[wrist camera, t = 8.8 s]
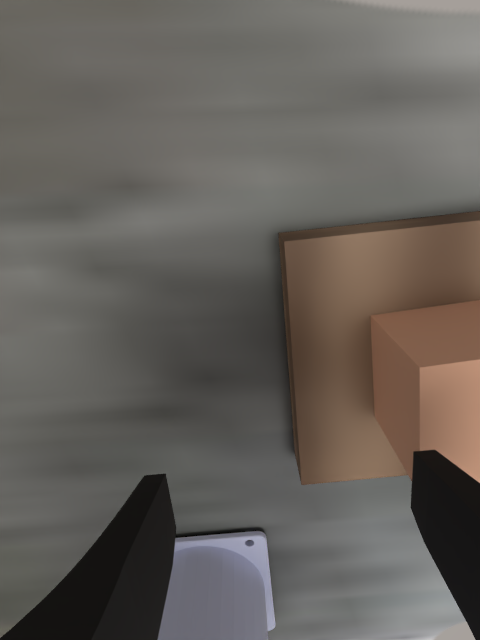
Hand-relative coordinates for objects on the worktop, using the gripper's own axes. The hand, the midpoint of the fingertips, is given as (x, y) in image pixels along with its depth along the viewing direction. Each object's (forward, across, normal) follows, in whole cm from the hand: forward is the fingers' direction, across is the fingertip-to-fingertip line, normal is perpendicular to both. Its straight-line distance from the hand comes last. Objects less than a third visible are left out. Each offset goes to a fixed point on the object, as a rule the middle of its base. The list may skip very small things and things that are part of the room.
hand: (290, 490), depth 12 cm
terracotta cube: (+7, -7, 0) cm, 10 cm away
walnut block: (+10, -7, 0) cm, 12 cm away
